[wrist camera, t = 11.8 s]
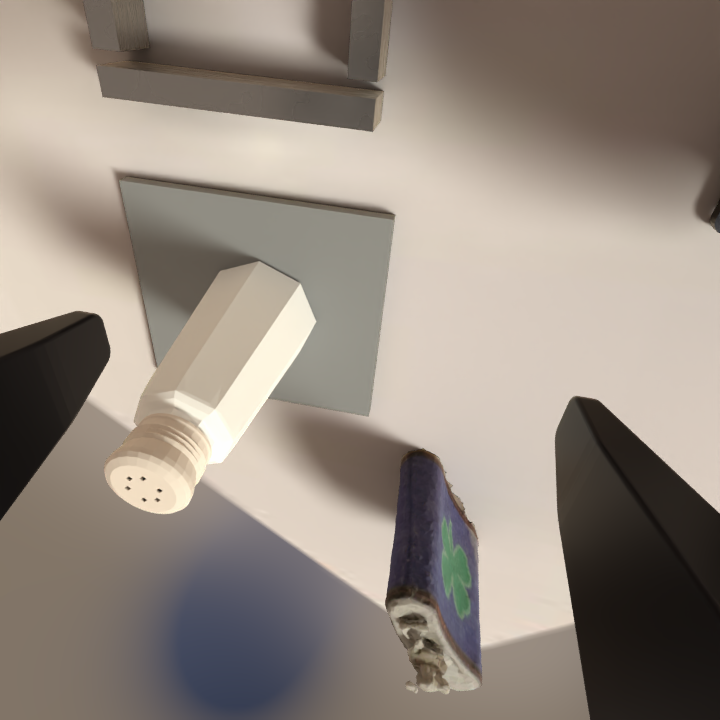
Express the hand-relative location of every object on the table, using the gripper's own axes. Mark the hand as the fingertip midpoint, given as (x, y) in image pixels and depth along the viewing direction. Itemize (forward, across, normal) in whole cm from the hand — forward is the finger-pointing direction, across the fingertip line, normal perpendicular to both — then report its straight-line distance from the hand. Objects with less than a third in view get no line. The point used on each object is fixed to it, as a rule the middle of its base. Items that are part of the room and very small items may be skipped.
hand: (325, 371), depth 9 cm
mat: (+13, +6, +7) cm, 16 cm away
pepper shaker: (+13, +6, +7) cm, 15 cm away
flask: (+13, -5, +19) cm, 24 cm away
